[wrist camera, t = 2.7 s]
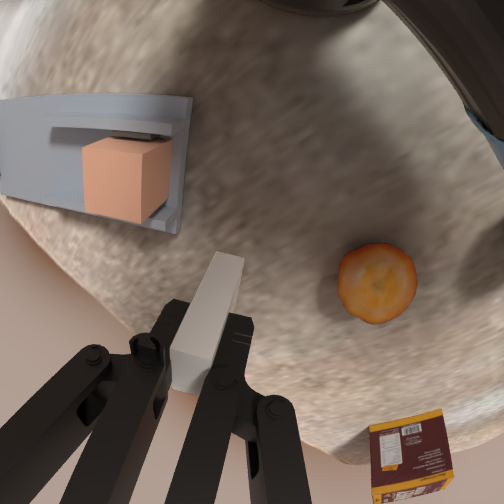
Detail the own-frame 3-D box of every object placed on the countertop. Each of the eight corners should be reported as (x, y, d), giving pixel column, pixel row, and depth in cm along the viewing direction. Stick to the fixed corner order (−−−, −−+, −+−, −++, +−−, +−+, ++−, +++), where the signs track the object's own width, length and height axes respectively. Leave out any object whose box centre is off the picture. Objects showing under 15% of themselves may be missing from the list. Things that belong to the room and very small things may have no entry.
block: (118, 133, 26) (82, 147, 21) (172, 139, 26) (142, 154, 21) (117, 188, 30) (85, 211, 25) (168, 197, 29) (140, 224, 24)
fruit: (354, 321, 34) (349, 341, 26) (333, 257, 35) (323, 260, 27) (418, 299, 31) (430, 314, 23) (398, 233, 32) (406, 230, 24)
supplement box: (436, 428, 49) (445, 489, 35) (370, 443, 53) (372, 505, 40) (443, 407, 44) (455, 476, 31) (368, 425, 49) (370, 496, 36)
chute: (1, 100, 27) (-23, 107, 23) (193, 97, 25) (174, 100, 21) (7, 190, 34) (-13, 202, 30) (180, 228, 33) (164, 249, 29)
